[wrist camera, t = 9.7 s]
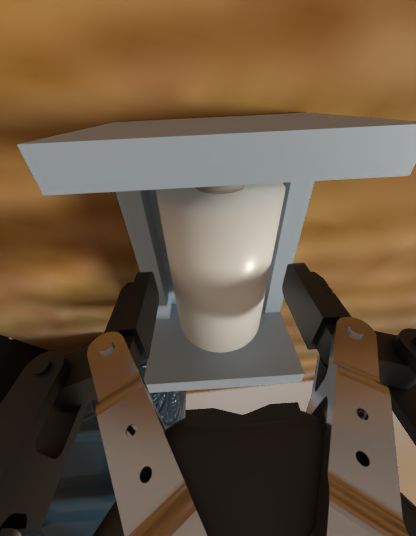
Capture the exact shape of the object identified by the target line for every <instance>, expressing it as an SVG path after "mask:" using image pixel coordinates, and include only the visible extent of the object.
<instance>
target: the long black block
mask: <svg viewBox="0 0 416 536" xmlns="http://www.w3.org/2000/svg"><path fill="white" fill-rule="evenodd" d="M45 352H48V351H45V350H42V349H39V348H36V347H33V346H30V345H27V344H24V343H21V342H18V341H15V340H12V338H4V337H1V336H0V404H1V402H2V401H3V399H4V398H5V396H6V395H7V393H8V392H9V390H10V389H11V387H12V386H13V384H14V383H15V381H16V380H17V378H18V377H19V375H20V374H21V373H22V371H23V370H24V368H25V367H26V366H27V364H28V363H29V362H30V361H32V360H33V359H34V358H35V357H37V356H39V355H40V354H42V353H45Z"/></svg>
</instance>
